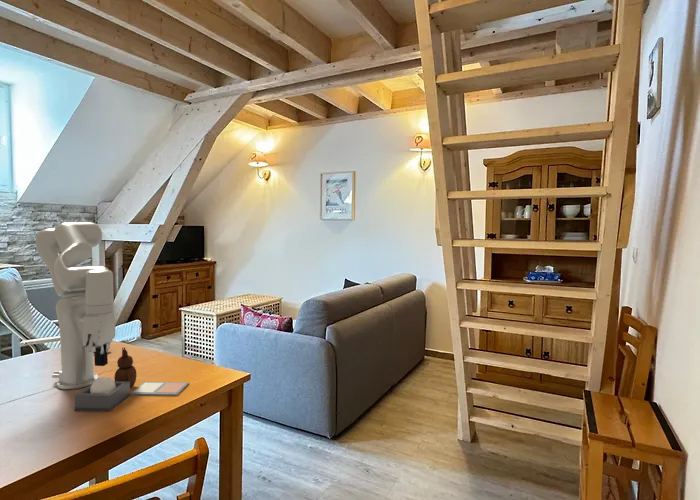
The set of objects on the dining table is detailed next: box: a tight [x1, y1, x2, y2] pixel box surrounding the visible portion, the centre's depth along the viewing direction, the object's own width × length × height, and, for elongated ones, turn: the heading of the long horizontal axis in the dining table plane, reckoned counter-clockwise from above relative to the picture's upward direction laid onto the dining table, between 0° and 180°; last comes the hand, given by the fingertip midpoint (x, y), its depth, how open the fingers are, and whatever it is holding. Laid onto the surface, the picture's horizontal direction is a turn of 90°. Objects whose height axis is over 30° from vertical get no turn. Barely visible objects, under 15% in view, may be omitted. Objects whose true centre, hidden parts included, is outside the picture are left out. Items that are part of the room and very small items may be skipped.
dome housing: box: [73, 380, 131, 412], centre depth 130 cm, size 11×11×5 cm
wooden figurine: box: [114, 347, 137, 389], centre depth 142 cm, size 7×6×15 cm
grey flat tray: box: [130, 381, 190, 397], centre depth 141 cm, size 16×10×1 cm, turn 89°
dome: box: [90, 376, 116, 393], centre depth 130 cm, size 7×7×7 cm
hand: (101, 364), depth 130 cm, fingers closed
